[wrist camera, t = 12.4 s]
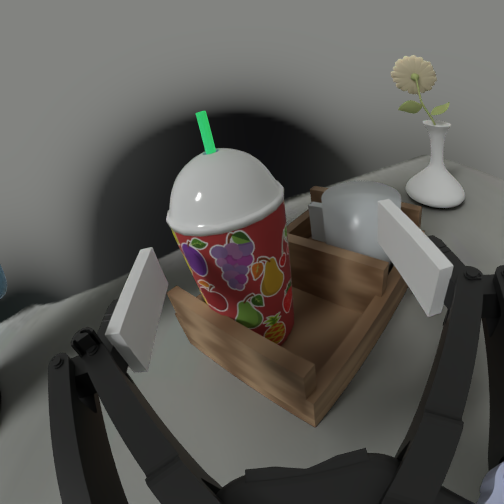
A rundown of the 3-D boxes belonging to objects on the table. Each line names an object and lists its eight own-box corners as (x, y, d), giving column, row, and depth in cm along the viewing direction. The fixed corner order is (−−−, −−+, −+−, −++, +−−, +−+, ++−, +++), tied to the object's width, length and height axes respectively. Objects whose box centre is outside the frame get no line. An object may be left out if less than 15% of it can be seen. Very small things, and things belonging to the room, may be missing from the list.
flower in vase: (465, 193, 44) (464, 60, 31) (462, 220, 38) (465, 57, 24) (404, 181, 52) (394, 55, 39) (389, 205, 46) (378, 53, 32)
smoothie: (289, 292, 32) (251, 96, 21) (317, 350, 25) (283, 99, 14) (213, 314, 31) (146, 124, 20) (224, 378, 24) (124, 142, 13)
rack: (190, 342, 30) (163, 290, 26) (316, 232, 43) (310, 185, 39) (315, 427, 20) (311, 382, 16) (420, 261, 33) (426, 207, 29)
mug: (405, 259, 32) (410, 188, 27) (379, 302, 27) (384, 223, 22) (332, 238, 38) (326, 174, 33) (297, 273, 34) (286, 201, 29)
